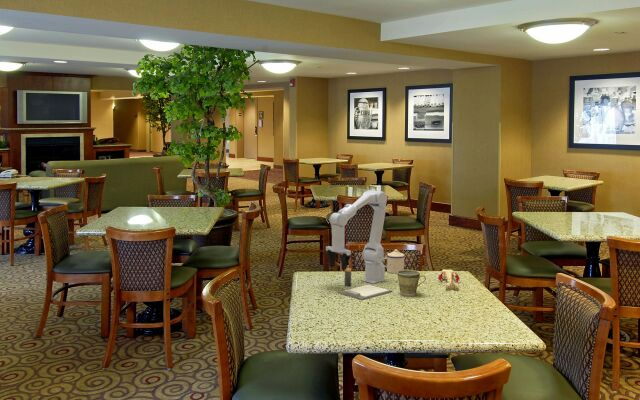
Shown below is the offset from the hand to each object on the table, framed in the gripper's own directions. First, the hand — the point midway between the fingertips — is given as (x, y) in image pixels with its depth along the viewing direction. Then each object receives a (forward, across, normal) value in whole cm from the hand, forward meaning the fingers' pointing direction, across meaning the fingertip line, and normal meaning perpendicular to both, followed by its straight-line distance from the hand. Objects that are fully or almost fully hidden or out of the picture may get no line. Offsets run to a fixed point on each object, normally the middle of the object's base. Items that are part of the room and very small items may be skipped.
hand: (338, 268), depth 275 cm
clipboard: (+10, +13, +5) cm, 17 cm away
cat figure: (+11, +29, +46) cm, 56 cm away
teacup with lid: (+10, -5, +45) cm, 46 cm away
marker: (+10, -1, +8) cm, 12 cm away
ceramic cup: (+10, +29, +18) cm, 35 cm away
